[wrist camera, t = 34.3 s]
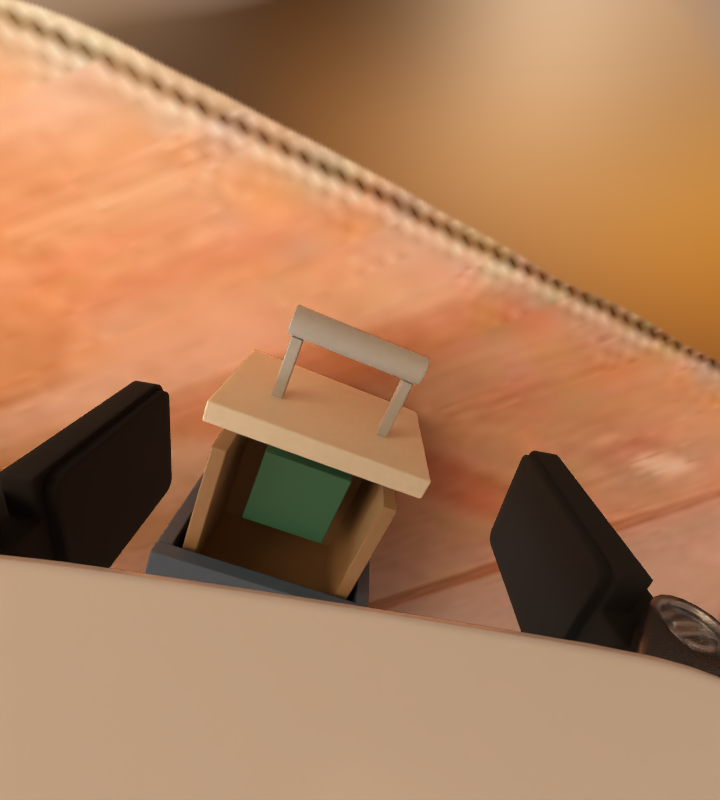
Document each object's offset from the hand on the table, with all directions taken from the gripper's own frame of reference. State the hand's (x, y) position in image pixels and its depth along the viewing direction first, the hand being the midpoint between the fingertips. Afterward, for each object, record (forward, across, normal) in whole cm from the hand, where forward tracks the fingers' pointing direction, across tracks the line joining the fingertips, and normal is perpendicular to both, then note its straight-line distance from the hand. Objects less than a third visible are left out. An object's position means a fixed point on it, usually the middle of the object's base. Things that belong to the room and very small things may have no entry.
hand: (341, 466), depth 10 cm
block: (+14, +2, +9) cm, 17 cm away
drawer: (+15, +2, +8) cm, 17 cm away
